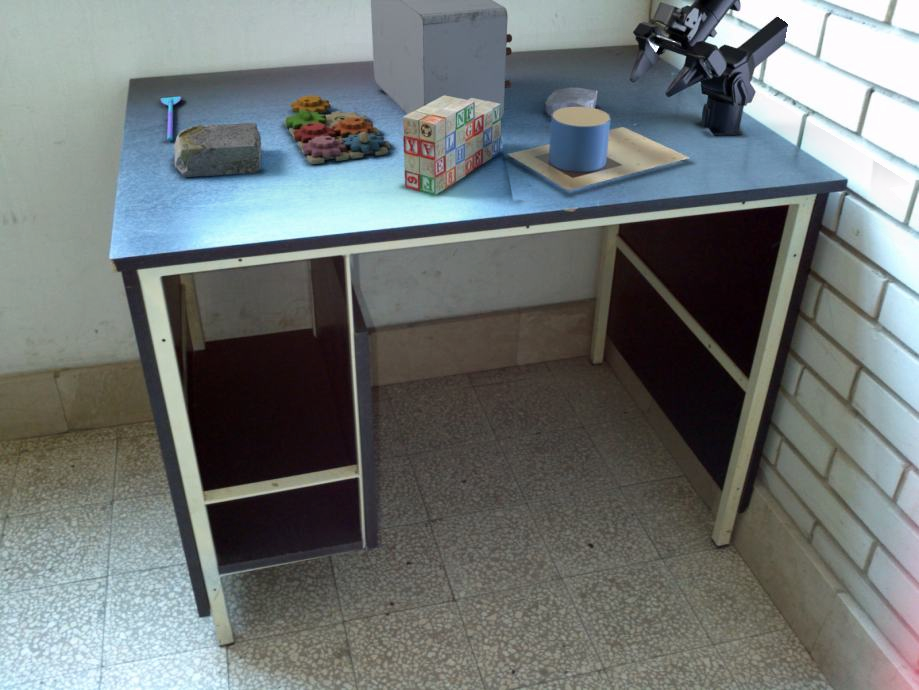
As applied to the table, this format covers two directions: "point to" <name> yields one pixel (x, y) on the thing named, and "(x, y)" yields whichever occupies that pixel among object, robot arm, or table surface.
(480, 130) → the stack of blocks
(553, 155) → the blue cylinder
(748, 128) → the table surface
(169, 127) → the blue scraper
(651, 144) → the birch board
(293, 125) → the gear puzzle
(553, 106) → the stone block
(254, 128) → the geological specimen
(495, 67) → the vintage electronic device
